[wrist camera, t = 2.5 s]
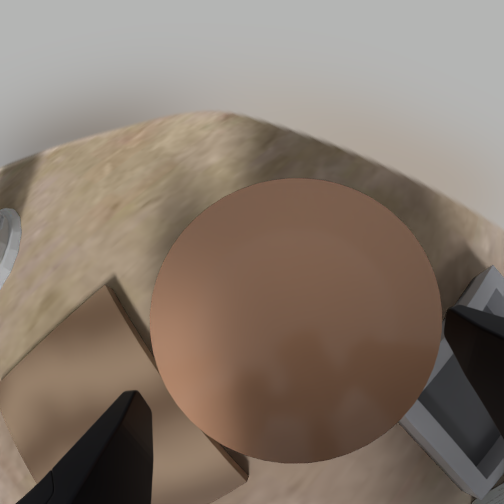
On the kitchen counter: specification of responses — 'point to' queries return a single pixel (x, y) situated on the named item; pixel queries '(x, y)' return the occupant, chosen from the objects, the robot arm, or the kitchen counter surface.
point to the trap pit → (460, 407)
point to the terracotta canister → (296, 320)
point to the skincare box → (492, 496)
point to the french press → (8, 241)
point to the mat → (108, 403)
